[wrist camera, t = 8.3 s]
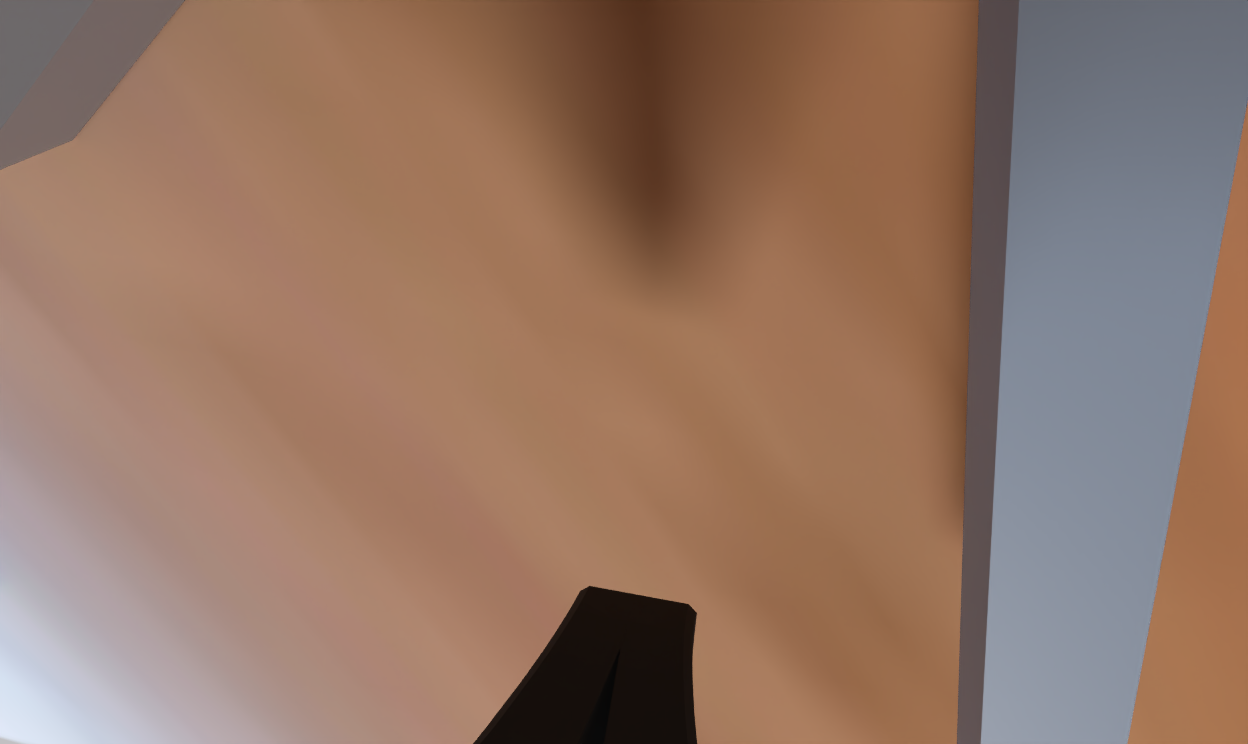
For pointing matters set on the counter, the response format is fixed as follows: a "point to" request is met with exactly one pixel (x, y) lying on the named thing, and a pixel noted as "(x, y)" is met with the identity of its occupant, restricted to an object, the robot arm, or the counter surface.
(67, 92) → the grey flat frame
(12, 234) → the counter surface
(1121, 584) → the blue-grey long bar
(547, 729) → the robot arm
